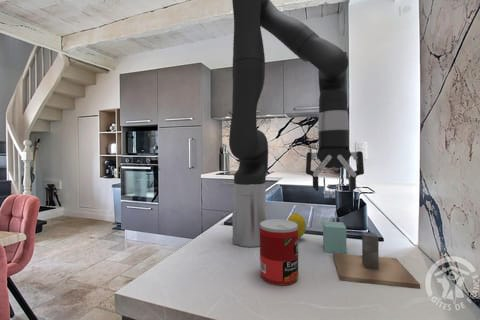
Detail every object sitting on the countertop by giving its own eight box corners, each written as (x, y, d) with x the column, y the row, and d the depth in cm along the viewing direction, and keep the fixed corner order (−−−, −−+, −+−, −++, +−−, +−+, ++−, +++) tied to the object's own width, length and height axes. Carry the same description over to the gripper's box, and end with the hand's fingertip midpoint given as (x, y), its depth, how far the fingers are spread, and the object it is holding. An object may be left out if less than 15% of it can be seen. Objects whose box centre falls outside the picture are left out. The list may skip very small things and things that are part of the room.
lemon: (306, 243, 70) (306, 215, 70) (286, 241, 72) (286, 214, 71) (305, 236, 76) (305, 210, 76) (287, 235, 77) (286, 210, 77)
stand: (339, 280, 49) (339, 241, 49) (332, 256, 61) (332, 224, 61) (420, 288, 46) (420, 246, 46) (396, 261, 57) (396, 228, 57)
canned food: (290, 290, 46) (290, 231, 46) (253, 279, 50) (252, 225, 50) (303, 273, 52) (303, 221, 52) (269, 265, 56) (268, 217, 56)
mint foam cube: (324, 252, 64) (324, 226, 63) (323, 245, 69) (323, 221, 68) (346, 253, 62) (346, 227, 62) (343, 246, 67) (342, 222, 67)
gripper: (305, 129, 63) (306, 192, 63) (366, 127, 60) (366, 193, 60) (305, 132, 70) (305, 188, 71) (359, 130, 67) (359, 189, 67)
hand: (333, 190), depth 65 cm, fingers open, 8 cm apart
